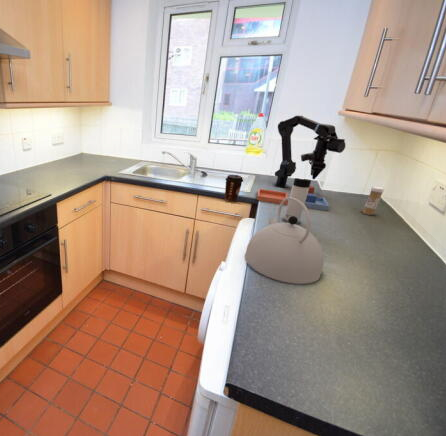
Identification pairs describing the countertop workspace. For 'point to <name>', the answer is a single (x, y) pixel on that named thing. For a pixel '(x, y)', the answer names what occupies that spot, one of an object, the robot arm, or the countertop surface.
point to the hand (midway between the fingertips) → (312, 177)
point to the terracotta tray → (272, 196)
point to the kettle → (286, 250)
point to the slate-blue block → (311, 198)
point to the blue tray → (318, 204)
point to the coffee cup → (232, 187)
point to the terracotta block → (311, 189)
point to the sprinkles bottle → (373, 200)
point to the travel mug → (299, 193)
